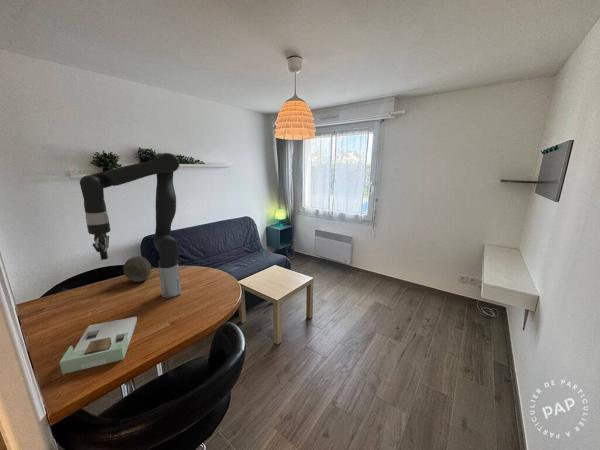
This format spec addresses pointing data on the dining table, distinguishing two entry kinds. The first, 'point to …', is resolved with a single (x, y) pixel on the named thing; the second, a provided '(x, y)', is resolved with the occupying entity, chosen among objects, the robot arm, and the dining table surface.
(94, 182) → the robot arm
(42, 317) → the dining table surface
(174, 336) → the dining table surface
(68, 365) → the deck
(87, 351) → the block
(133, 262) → the cantaloupe
